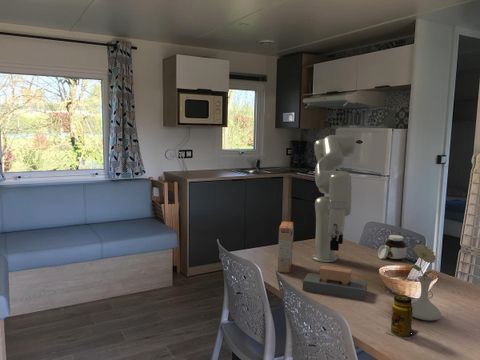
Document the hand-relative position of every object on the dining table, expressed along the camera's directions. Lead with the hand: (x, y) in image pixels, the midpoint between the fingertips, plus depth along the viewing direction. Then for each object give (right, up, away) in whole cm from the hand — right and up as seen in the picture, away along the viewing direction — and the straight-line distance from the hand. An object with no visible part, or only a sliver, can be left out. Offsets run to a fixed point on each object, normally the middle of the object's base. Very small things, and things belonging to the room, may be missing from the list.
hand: (336, 246), depth 165 cm
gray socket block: (0, -18, +2) cm, 18 cm away
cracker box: (-17, -15, +28) cm, 36 cm away
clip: (0, -18, +2) cm, 18 cm away
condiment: (+14, -23, -32) cm, 41 cm away
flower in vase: (+25, -21, -20) cm, 38 cm away
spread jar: (+38, -14, +44) cm, 60 cm away
